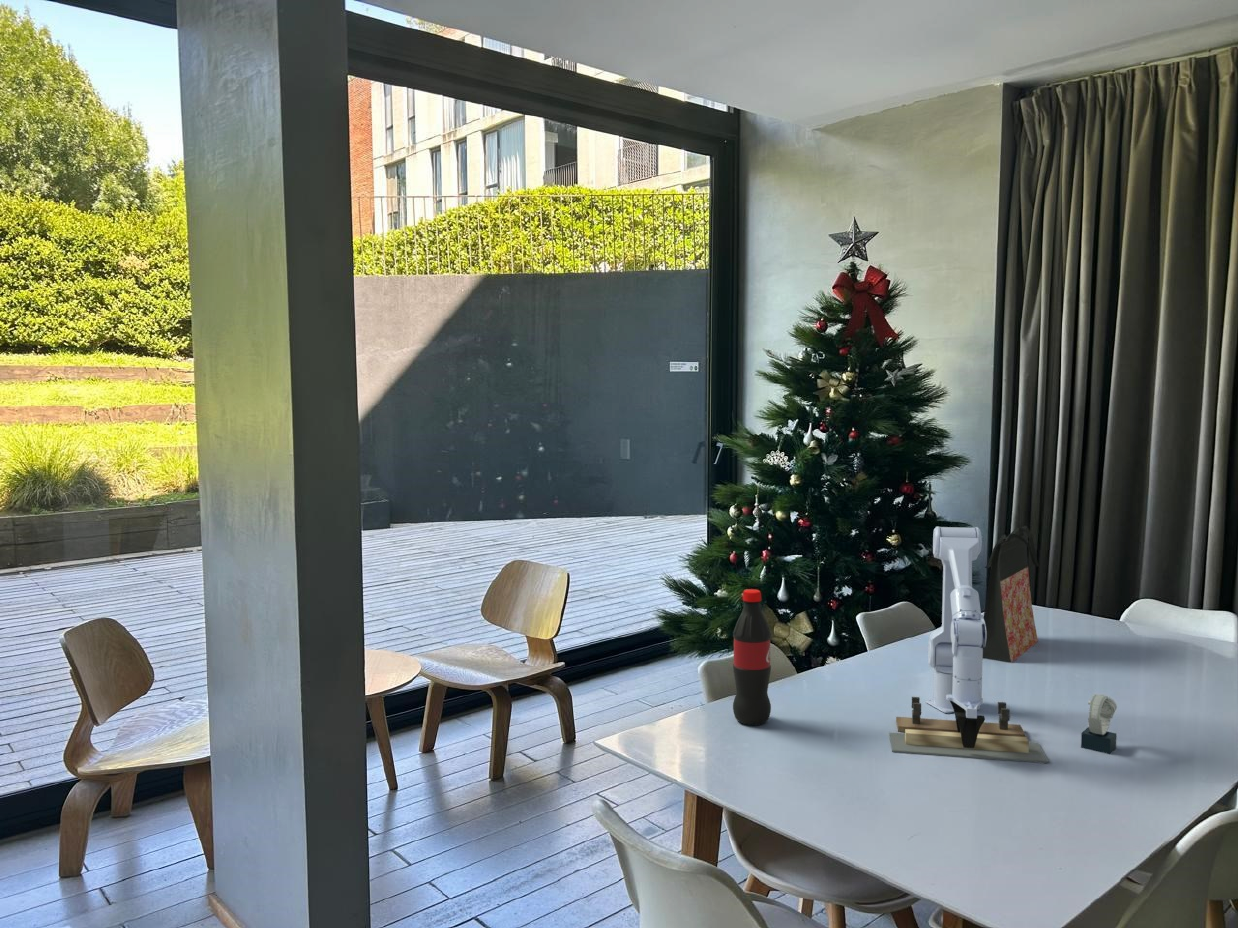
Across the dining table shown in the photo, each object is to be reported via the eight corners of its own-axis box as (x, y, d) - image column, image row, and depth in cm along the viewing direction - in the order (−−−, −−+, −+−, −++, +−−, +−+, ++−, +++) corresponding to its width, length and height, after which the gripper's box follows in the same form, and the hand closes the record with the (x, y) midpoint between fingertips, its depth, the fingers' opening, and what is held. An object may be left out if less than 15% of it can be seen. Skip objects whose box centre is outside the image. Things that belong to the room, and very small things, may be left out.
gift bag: (1022, 664, 253) (1025, 535, 250) (968, 655, 262) (971, 530, 259) (1051, 640, 276) (1055, 522, 273) (1001, 633, 284) (1004, 518, 281)
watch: (1118, 745, 197) (1120, 693, 196) (1107, 756, 191) (1109, 703, 190) (1089, 738, 200) (1091, 688, 200) (1077, 749, 195) (1079, 697, 194)
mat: (1038, 744, 197) (1038, 742, 197) (1048, 763, 188) (1048, 761, 188) (889, 734, 204) (889, 732, 204) (892, 751, 194) (892, 749, 194)
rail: (1026, 748, 194) (1026, 737, 194) (1028, 752, 192) (1028, 741, 192) (904, 739, 200) (905, 728, 200) (905, 744, 197) (905, 732, 197)
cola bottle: (775, 717, 215) (775, 587, 213) (764, 729, 207) (765, 595, 205) (739, 712, 219) (739, 584, 216) (728, 724, 211) (727, 592, 208)
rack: (1020, 729, 206) (1020, 702, 205) (1025, 740, 200) (1026, 711, 199) (896, 721, 211) (896, 694, 211) (898, 731, 206) (898, 703, 205)
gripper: (942, 664, 203) (941, 726, 204) (951, 686, 188) (949, 752, 190) (977, 666, 201) (976, 728, 202) (988, 688, 187) (987, 754, 188)
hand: (965, 740), depth 196 cm, fingers open, 7 cm apart
